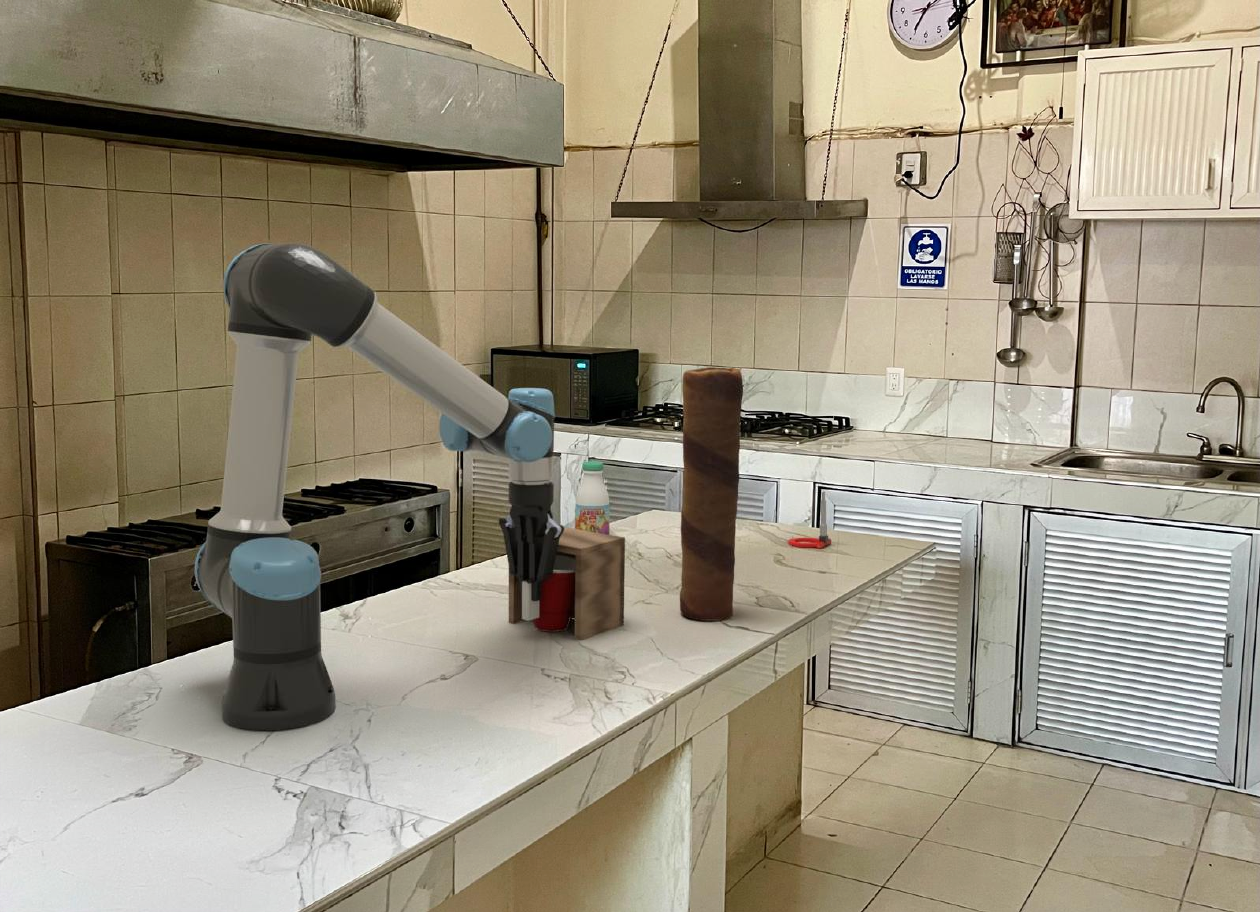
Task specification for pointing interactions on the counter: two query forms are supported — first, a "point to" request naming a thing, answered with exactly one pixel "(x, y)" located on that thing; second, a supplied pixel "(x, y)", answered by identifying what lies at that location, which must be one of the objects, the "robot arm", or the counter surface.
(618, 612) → the open wooden crate
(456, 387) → the robot arm
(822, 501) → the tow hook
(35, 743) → the counter surface
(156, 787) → the counter surface
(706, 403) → the wafer roll
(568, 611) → the plastic cup
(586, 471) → the milk bottle
